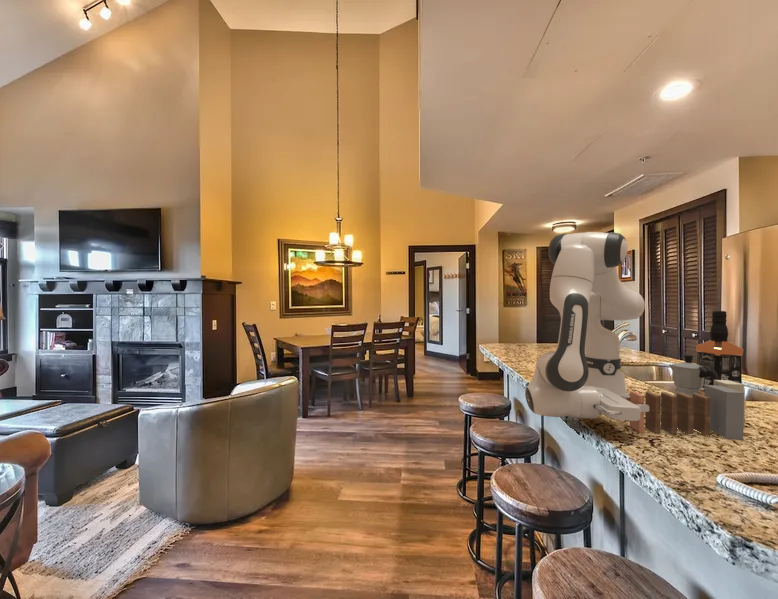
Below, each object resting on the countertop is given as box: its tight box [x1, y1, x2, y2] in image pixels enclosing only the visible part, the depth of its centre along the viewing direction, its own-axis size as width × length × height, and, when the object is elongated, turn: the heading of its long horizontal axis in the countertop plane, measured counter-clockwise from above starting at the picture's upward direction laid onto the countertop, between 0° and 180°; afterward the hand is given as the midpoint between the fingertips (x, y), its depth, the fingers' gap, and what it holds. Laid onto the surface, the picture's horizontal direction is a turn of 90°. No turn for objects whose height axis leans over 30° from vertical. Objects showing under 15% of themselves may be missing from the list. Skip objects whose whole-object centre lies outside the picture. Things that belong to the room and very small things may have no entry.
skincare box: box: [714, 380, 746, 428], centre depth 109 cm, size 6×4×12 cm
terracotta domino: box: [629, 390, 645, 434], centre depth 103 cm, size 1×5×10 cm, turn 173°
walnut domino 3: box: [677, 393, 694, 435], centre depth 102 cm, size 1×5×10 cm, turn 173°
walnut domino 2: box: [660, 391, 678, 435], centre depth 102 cm, size 1×5×10 cm, turn 173°
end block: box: [705, 385, 745, 441], centre depth 101 cm, size 8×4×12 cm, turn 173°
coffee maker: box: [668, 354, 720, 397], centre depth 120 cm, size 15×9×18 cm, turn 18°
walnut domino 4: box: [692, 393, 711, 437], centre depth 101 cm, size 1×5×10 cm, turn 173°
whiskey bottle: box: [695, 310, 744, 396], centre depth 129 cm, size 10×10×32 cm
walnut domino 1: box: [644, 391, 661, 434], centre depth 103 cm, size 1×5×10 cm, turn 172°
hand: (640, 404), depth 103 cm, fingers open, 6 cm apart
